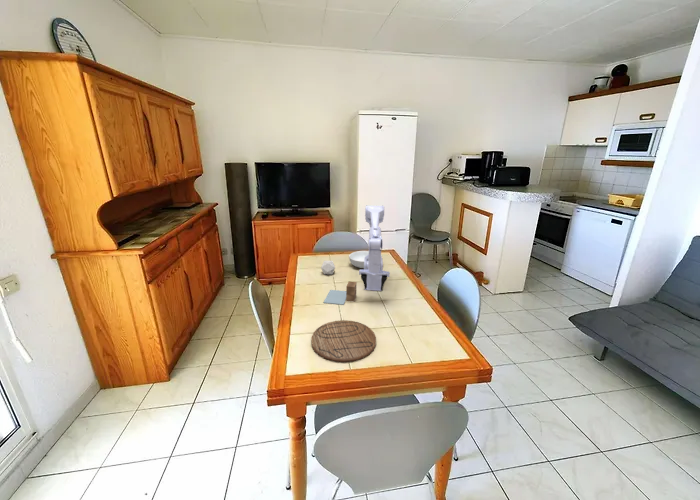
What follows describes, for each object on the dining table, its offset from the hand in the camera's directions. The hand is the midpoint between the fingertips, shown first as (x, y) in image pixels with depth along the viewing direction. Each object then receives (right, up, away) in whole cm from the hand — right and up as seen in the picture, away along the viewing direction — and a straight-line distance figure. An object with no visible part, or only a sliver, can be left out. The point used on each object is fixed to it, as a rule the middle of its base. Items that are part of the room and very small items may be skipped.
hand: (373, 288), depth 147 cm
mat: (-18, -5, +5) cm, 19 cm away
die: (-24, +5, +34) cm, 42 cm away
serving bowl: (-2, +9, +47) cm, 48 cm away
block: (-11, -5, +4) cm, 13 cm away
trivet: (-14, -17, -29) cm, 37 cm away
